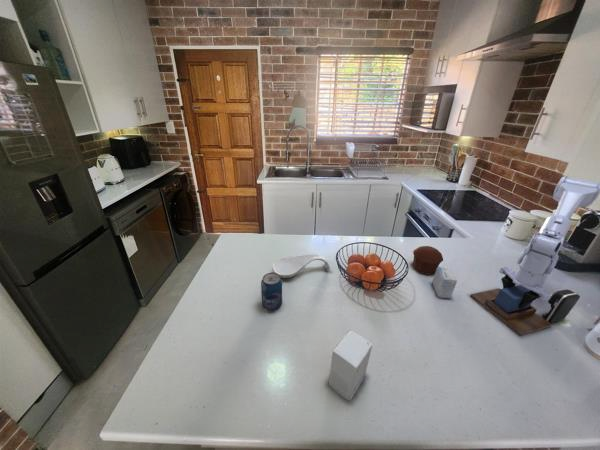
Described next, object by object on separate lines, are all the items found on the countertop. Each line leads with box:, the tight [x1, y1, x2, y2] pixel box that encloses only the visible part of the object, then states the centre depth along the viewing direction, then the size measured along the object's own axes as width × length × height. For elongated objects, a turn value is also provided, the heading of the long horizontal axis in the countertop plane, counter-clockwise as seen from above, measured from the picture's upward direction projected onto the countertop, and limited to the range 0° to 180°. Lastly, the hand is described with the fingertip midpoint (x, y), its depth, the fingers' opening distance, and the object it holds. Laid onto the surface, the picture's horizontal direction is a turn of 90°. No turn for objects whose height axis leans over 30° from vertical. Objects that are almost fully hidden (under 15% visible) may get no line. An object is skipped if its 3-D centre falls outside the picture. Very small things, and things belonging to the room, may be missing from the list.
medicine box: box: [431, 266, 458, 300], centre depth 93 cm, size 8×4×9 cm, turn 168°
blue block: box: [494, 285, 534, 313], centre depth 84 cm, size 10×5×6 cm, turn 106°
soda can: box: [260, 272, 283, 313], centre depth 82 cm, size 7×7×12 cm
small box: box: [328, 329, 374, 402], centre depth 60 cm, size 8×6×13 cm
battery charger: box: [541, 289, 581, 323], centre depth 82 cm, size 7×4×11 cm, turn 103°
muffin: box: [412, 245, 444, 275], centre depth 105 cm, size 12×11×10 cm
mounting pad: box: [470, 288, 553, 337], centre depth 86 cm, size 14×18×3 cm
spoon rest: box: [272, 253, 331, 279], centre depth 101 cm, size 24×12×7 cm, turn 103°
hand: (512, 301), depth 85 cm, fingers closed on blue block, 5 cm apart
